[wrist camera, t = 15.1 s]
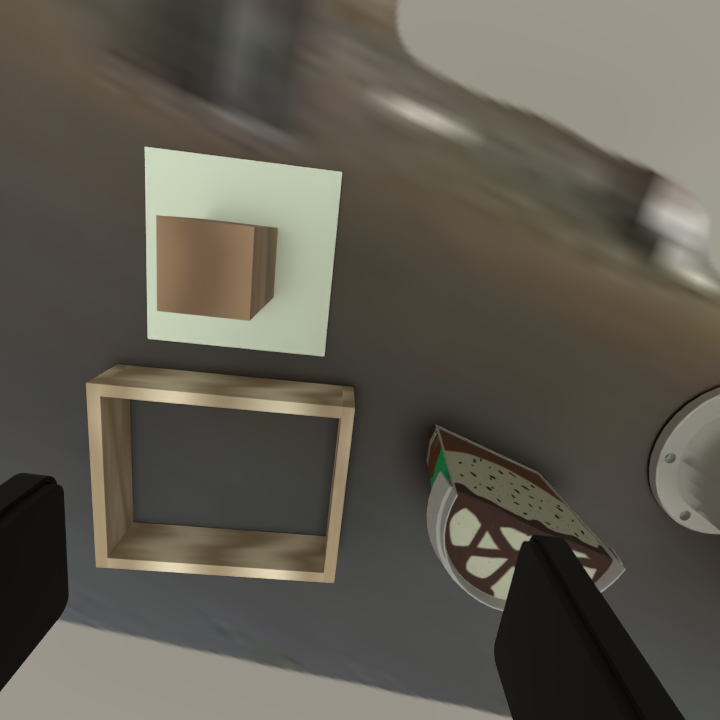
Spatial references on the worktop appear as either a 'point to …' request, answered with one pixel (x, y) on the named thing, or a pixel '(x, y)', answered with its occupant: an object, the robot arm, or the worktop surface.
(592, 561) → the food container
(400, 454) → the worktop surface
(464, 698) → the worktop surface
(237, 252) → the walnut block
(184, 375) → the access box
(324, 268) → the mat
